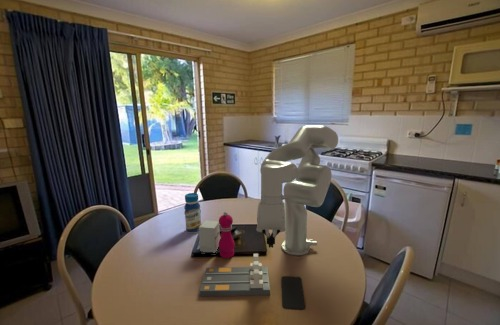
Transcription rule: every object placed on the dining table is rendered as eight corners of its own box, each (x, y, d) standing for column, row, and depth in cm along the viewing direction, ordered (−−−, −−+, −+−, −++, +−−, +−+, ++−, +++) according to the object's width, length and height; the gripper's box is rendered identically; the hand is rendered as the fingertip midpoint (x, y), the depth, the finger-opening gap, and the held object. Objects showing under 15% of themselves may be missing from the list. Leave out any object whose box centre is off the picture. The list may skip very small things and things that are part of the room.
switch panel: (267, 271, 94) (267, 266, 94) (270, 294, 82) (270, 289, 82) (206, 272, 94) (206, 267, 94) (199, 296, 82) (199, 290, 82)
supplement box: (215, 254, 106) (214, 228, 103) (199, 253, 108) (198, 227, 105) (220, 246, 113) (219, 221, 111) (206, 244, 115) (204, 219, 112)
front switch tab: (262, 283, 84) (262, 269, 83) (263, 288, 82) (263, 273, 81) (250, 284, 84) (250, 269, 83) (250, 288, 82) (250, 273, 81)
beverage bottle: (203, 226, 133) (201, 192, 129) (199, 234, 124) (196, 197, 120) (189, 226, 134) (186, 192, 130) (183, 233, 125) (180, 197, 121)
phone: (282, 307, 76) (281, 275, 91) (282, 309, 76) (281, 277, 91) (305, 309, 75) (301, 276, 90) (305, 311, 76) (301, 278, 90)
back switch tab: (261, 266, 93) (261, 253, 92) (261, 270, 91) (261, 256, 90) (250, 266, 93) (250, 253, 92) (250, 270, 91) (250, 256, 90)
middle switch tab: (262, 274, 89) (262, 261, 88) (262, 278, 87) (262, 264, 86) (250, 275, 89) (250, 261, 88) (250, 278, 87) (250, 264, 86)
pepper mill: (222, 260, 102) (220, 216, 98) (216, 252, 108) (214, 210, 104) (238, 256, 105) (236, 213, 101) (231, 248, 111) (229, 207, 107)
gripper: (290, 195, 90) (289, 240, 94) (250, 195, 90) (250, 240, 94) (293, 202, 83) (292, 251, 86) (250, 202, 83) (250, 251, 86)
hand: (270, 245), depth 90 cm, fingers closed
